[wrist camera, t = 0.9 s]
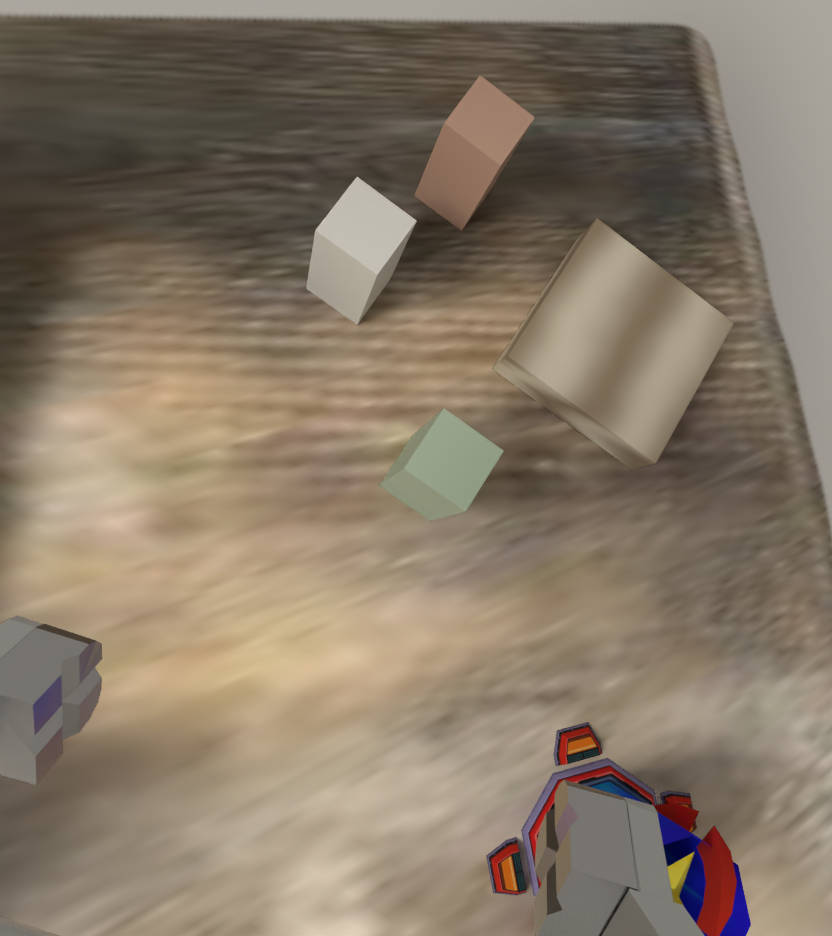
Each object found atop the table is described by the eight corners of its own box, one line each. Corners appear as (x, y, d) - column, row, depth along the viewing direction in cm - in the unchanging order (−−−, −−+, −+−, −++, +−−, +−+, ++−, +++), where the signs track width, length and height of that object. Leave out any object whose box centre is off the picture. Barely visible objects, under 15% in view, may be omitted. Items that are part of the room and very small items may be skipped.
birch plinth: (492, 369, 46) (507, 356, 43) (577, 238, 49) (597, 218, 46) (631, 469, 48) (655, 463, 45) (706, 336, 50) (734, 322, 48)
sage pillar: (378, 485, 44) (403, 468, 36) (412, 435, 45) (443, 408, 37) (430, 521, 44) (465, 511, 36) (462, 470, 45) (503, 450, 37)
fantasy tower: (622, 979, 43) (756, 1133, 31) (471, 879, 42) (551, 1001, 30) (707, 805, 46) (860, 888, 34) (568, 707, 44) (676, 759, 33)
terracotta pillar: (414, 195, 47) (444, 122, 39) (444, 154, 48) (480, 75, 40) (461, 231, 47) (500, 165, 40) (491, 189, 48) (534, 117, 41)
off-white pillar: (306, 288, 44) (315, 230, 37) (340, 242, 45) (356, 176, 38) (357, 324, 45) (377, 275, 37) (390, 278, 46) (416, 220, 38)
